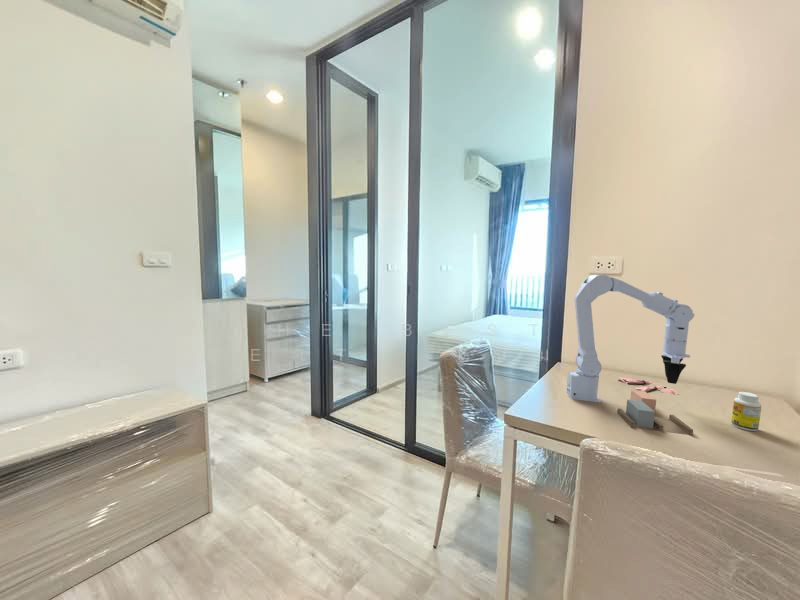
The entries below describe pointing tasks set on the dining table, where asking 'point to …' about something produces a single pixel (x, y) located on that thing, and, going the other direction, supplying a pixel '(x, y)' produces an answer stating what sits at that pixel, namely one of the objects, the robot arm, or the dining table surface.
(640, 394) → the plug block
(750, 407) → the supplement bottle
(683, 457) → the dining table surface
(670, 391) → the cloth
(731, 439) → the dining table surface
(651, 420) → the slate block
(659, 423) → the comb rack
